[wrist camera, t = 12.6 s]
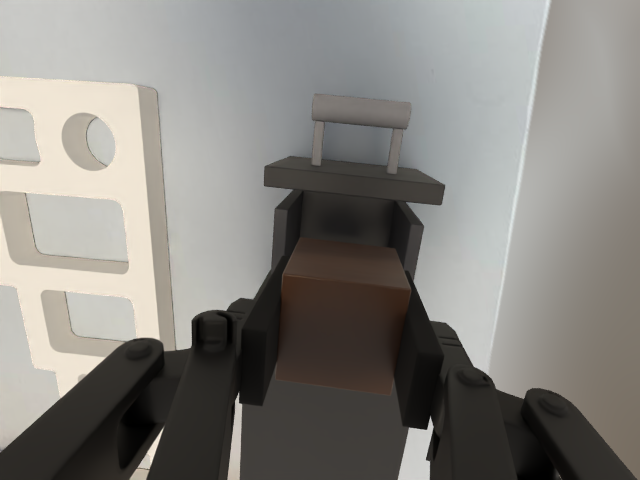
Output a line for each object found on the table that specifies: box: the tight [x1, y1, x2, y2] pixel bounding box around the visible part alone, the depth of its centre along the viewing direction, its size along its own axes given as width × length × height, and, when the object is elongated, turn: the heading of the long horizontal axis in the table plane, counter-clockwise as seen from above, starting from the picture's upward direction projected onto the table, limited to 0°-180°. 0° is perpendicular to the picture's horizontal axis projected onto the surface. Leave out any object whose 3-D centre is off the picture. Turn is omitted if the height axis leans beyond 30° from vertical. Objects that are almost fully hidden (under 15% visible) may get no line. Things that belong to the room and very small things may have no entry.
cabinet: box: [240, 270, 409, 480], centre depth 29 cm, size 15×12×11 cm
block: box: [275, 237, 411, 396], centre depth 15 cm, size 4×4×4 cm
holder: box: [0, 76, 175, 480], centre depth 35 cm, size 45×18×3 cm, turn 177°
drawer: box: [264, 94, 445, 281], centre depth 26 cm, size 18×10×9 cm, turn 175°
